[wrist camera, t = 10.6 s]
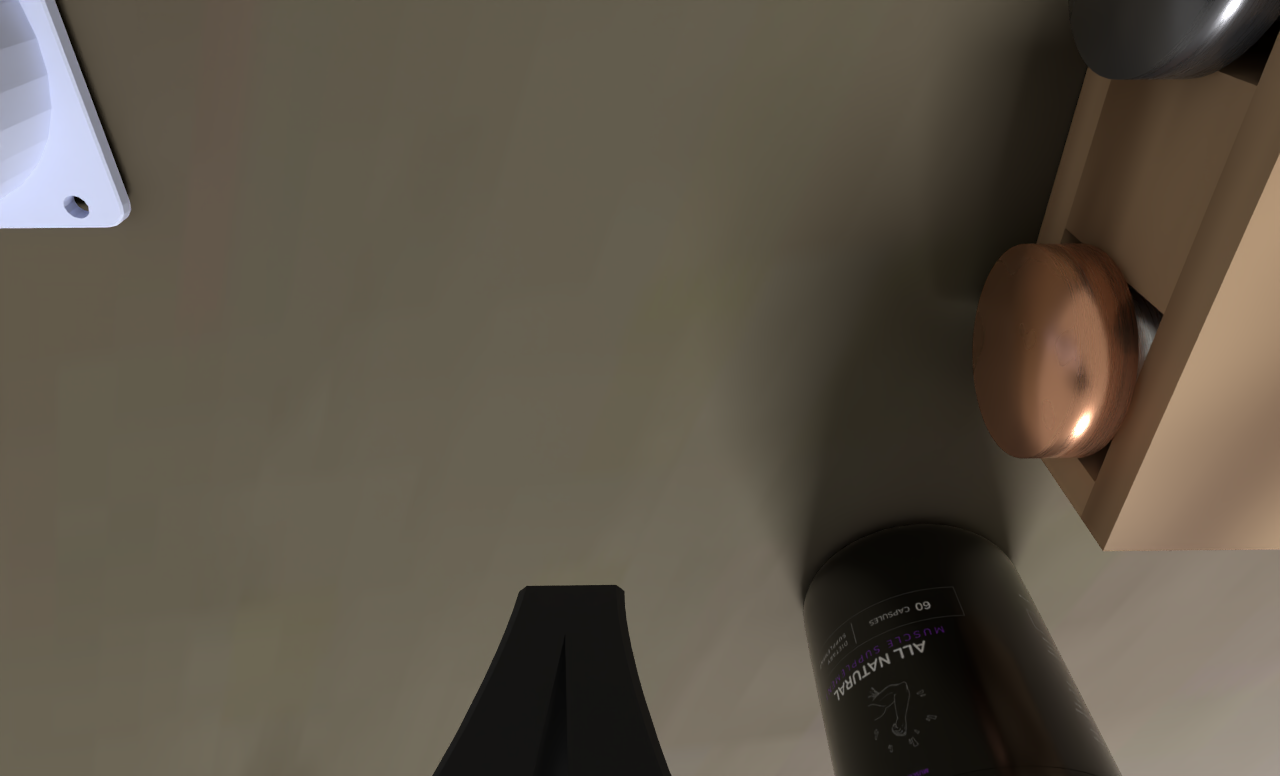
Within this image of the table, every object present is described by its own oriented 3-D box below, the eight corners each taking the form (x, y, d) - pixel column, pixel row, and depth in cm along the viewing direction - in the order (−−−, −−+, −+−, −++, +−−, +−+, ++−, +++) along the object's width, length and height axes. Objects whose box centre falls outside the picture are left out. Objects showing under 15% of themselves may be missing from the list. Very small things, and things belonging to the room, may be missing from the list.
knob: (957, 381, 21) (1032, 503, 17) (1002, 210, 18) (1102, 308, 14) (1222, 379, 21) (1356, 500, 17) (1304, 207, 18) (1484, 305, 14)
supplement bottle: (826, 505, 24) (965, 975, 14) (1045, 523, 24) (1331, 989, 14) (777, 653, 28) (860, 1105, 18) (968, 666, 28) (1152, 1113, 18)
